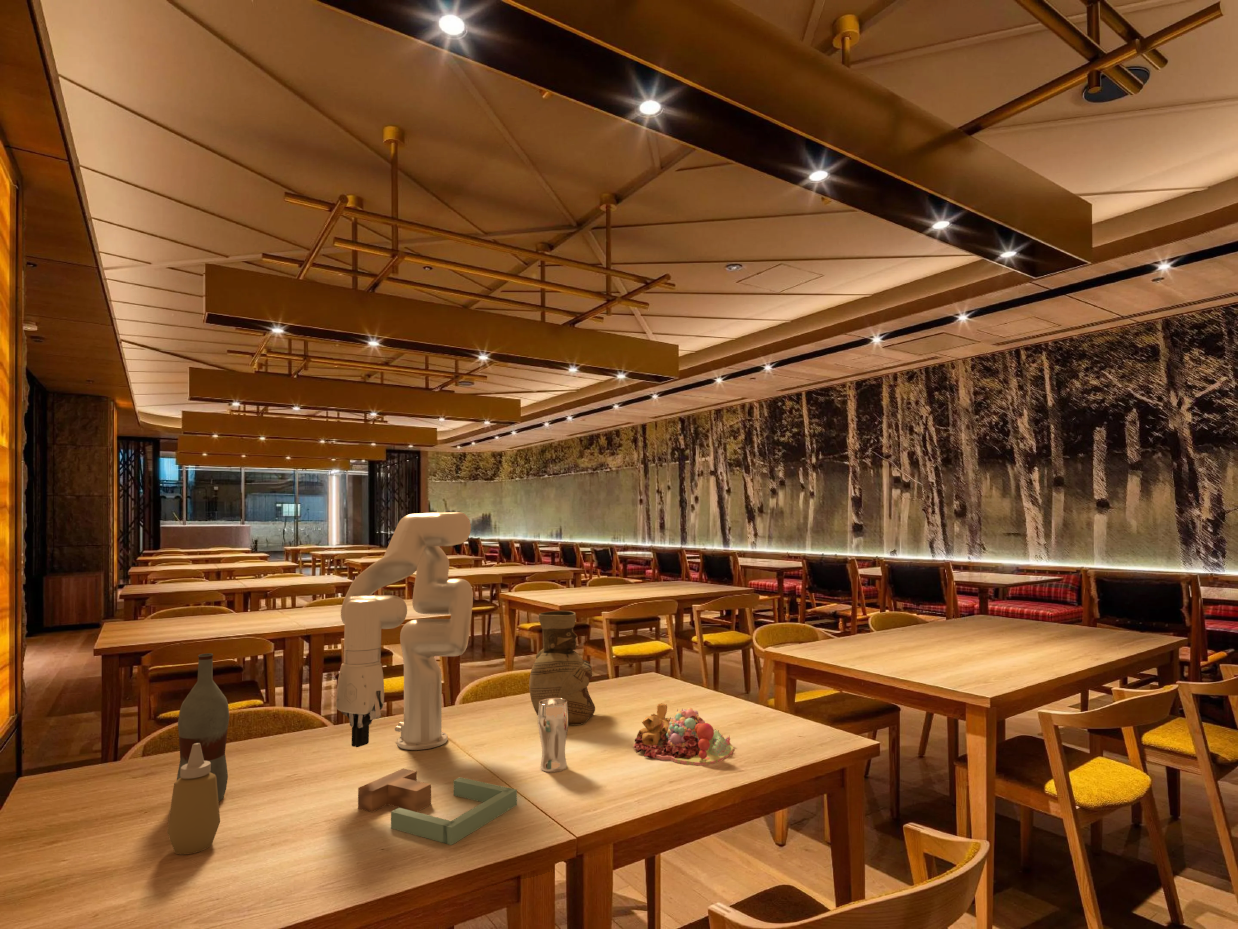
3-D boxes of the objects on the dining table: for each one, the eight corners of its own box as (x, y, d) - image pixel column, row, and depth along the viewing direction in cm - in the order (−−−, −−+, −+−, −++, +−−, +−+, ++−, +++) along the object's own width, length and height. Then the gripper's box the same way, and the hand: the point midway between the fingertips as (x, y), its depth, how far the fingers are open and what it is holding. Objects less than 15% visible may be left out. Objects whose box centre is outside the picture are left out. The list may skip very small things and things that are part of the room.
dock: (390, 828, 129) (391, 811, 129) (460, 791, 145) (460, 777, 146) (451, 845, 122) (451, 827, 122) (517, 805, 138) (516, 789, 138)
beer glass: (564, 774, 154) (563, 705, 156) (534, 772, 156) (533, 704, 157) (572, 763, 161) (571, 697, 162) (543, 761, 163) (543, 697, 164)
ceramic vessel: (614, 716, 199) (612, 611, 201) (558, 733, 184) (556, 619, 186) (572, 704, 212) (570, 606, 215) (516, 719, 198) (515, 613, 200)
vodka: (172, 813, 137) (177, 660, 139) (177, 797, 145) (181, 653, 148) (226, 803, 141) (230, 655, 144) (228, 788, 150) (231, 648, 152)
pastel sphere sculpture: (620, 758, 165) (619, 718, 166) (652, 729, 187) (651, 694, 188) (722, 770, 156) (720, 728, 157) (743, 738, 178) (742, 702, 178)
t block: (358, 808, 138) (358, 788, 138) (403, 787, 149) (403, 768, 149) (401, 820, 132) (401, 798, 133) (444, 797, 143) (444, 777, 143)
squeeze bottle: (182, 838, 126) (185, 738, 127) (228, 836, 127) (230, 736, 128) (156, 860, 118) (159, 752, 119) (205, 857, 119) (208, 750, 120)
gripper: (324, 657, 148) (321, 745, 146) (372, 662, 141) (370, 755, 139) (352, 652, 155) (350, 736, 153) (400, 656, 148) (398, 745, 146)
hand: (360, 745), depth 146 cm, fingers closed
